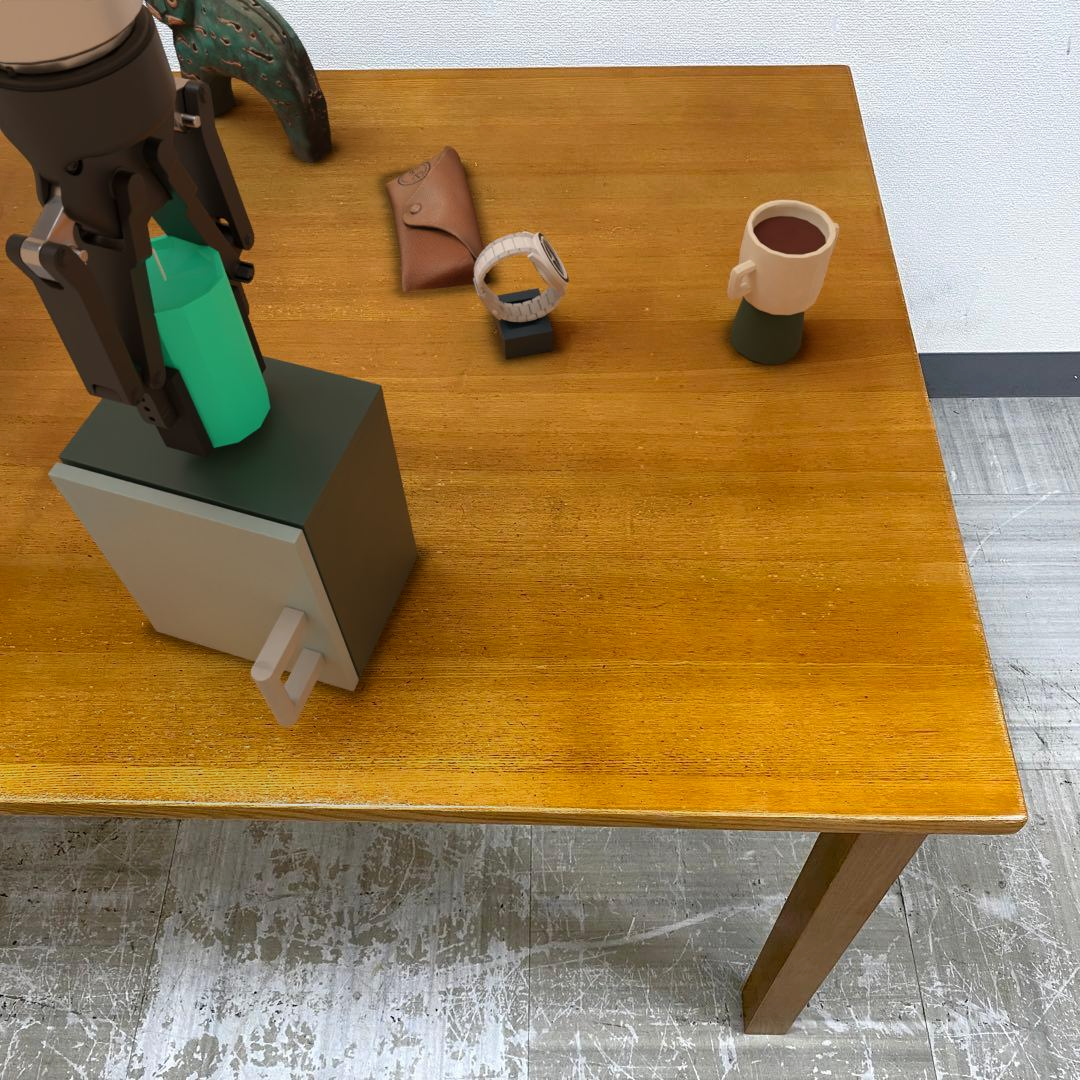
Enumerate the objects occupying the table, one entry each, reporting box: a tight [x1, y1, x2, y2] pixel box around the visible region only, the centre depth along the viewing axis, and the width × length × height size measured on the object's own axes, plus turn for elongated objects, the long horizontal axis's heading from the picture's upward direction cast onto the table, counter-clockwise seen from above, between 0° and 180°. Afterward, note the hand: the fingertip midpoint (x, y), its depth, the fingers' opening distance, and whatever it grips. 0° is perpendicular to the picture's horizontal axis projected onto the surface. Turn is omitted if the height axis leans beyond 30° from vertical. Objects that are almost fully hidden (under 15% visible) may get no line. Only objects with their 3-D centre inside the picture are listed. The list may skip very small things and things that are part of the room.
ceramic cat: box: [144, 0, 333, 164], centre depth 102 cm, size 20×6×20 cm, turn 54°
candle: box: [146, 234, 270, 448], centre depth 55 cm, size 6×6×12 cm
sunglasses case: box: [385, 145, 491, 293], centre depth 99 cm, size 18×7×7 cm
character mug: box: [726, 199, 840, 366], centre depth 86 cm, size 11×7×13 cm, turn 121°
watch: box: [473, 230, 570, 360], centre depth 87 cm, size 6×8×11 cm
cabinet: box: [58, 355, 419, 678], centre depth 69 cm, size 11×16×20 cm
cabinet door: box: [47, 461, 360, 728], centre depth 65 cm, size 6×16×20 cm, turn 72°
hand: (217, 405), depth 60 cm, fingers closed on candle, 6 cm apart
